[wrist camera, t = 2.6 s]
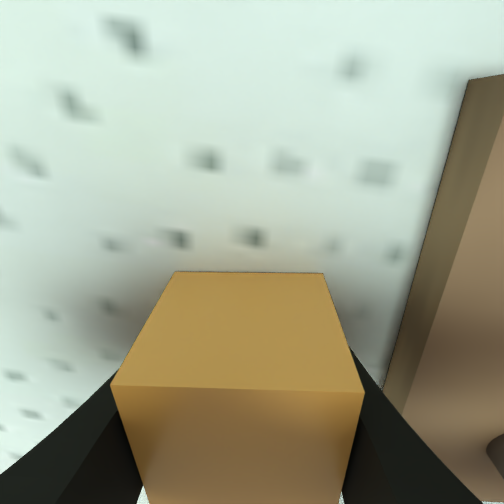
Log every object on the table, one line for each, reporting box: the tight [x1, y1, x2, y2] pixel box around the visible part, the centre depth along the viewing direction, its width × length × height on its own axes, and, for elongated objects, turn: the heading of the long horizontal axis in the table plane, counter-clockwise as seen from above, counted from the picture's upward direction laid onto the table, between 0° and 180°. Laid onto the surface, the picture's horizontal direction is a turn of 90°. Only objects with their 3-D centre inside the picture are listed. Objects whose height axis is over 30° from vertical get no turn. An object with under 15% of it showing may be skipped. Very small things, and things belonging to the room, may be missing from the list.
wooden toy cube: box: [110, 272, 365, 504], centre depth 9 cm, size 5×5×4 cm
